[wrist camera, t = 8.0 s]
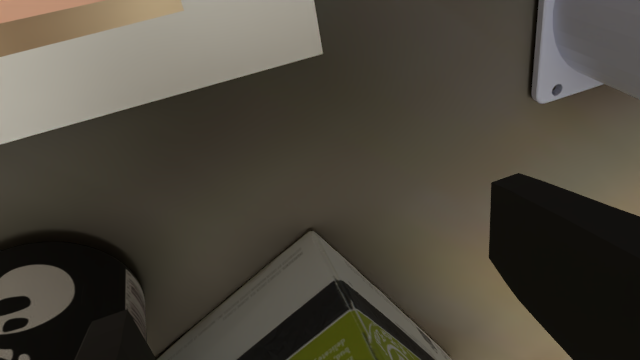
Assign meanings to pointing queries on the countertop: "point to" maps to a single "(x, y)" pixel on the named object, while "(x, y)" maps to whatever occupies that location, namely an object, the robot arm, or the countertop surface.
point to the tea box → (306, 316)
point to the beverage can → (60, 298)
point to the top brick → (35, 7)
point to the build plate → (151, 61)
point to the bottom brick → (79, 22)
